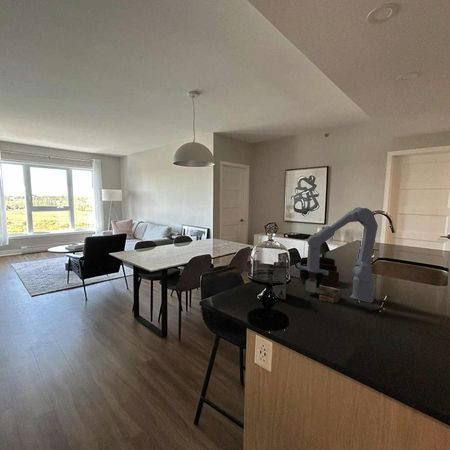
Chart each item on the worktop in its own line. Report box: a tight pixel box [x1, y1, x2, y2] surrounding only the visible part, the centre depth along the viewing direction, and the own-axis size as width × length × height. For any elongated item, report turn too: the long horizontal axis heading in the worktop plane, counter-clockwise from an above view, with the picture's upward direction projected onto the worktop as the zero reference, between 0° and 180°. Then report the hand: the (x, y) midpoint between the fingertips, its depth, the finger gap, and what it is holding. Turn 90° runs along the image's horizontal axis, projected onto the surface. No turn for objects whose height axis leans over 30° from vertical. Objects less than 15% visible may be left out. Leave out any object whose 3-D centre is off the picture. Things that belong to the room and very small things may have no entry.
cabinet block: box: [304, 278, 319, 294], centre depth 127 cm, size 5×5×6 cm
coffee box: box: [272, 261, 288, 300], centre depth 126 cm, size 9×6×16 cm
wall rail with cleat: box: [316, 285, 342, 304], centre depth 125 cm, size 14×10×4 cm
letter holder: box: [299, 256, 340, 286], centre depth 147 cm, size 10×20×14 cm, turn 82°
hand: (312, 286), depth 128 cm, fingers closed on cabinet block, 5 cm apart
